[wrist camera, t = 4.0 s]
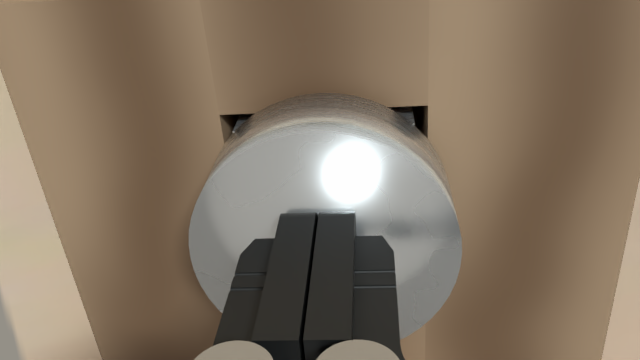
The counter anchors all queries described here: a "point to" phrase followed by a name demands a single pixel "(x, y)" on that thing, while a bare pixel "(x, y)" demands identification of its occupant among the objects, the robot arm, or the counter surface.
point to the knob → (332, 193)
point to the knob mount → (352, 79)
